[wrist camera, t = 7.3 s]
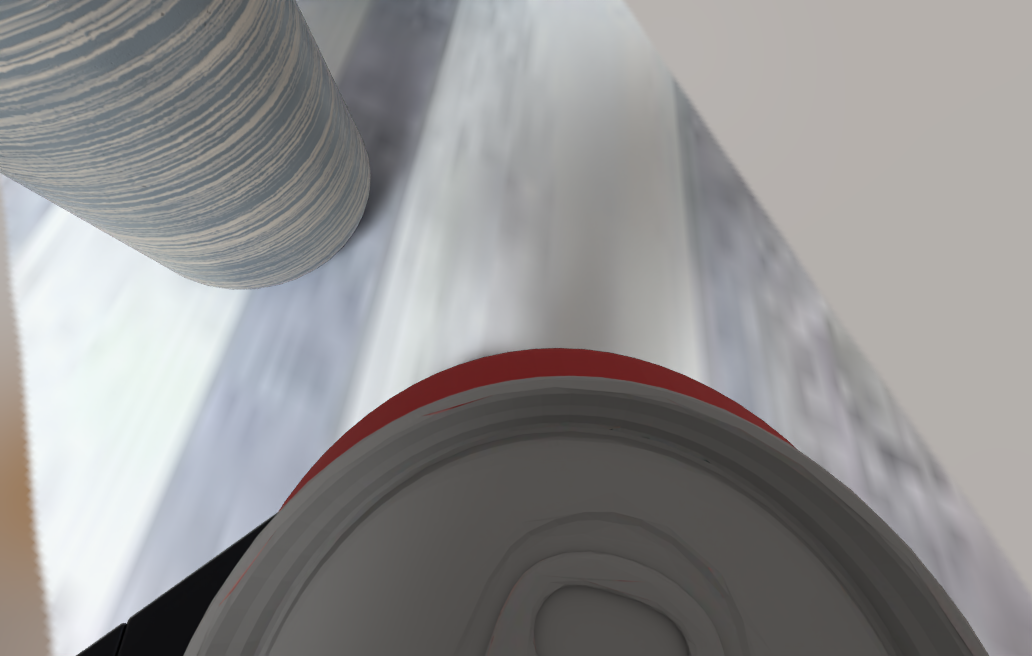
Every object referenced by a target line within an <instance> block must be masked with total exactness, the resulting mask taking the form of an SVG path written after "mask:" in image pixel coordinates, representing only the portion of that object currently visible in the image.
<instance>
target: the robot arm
mask: <svg viewBox="0 0 1032 656" xmlns="http://www.w3.org/2000/svg"><path fill="white" fill-rule="evenodd" d="M276 515H277V513H276V514H275V515H273V516H272V517H271V518H269V519H268V520H266V521H265V522H263V523H262V524H261V525H259V526H258V527H256V528H255V529H254V530H252V531H251V532H249V533H248V534H247V535H245V536H244V537H242V538H241V539H240V540H238V541H237V542H235V543H234V544H233V545H231V546H230V547H228V548H227V549H226V550H224V551H223V552H221V553H220V554H219V555H217V556H216V557H214V558H213V559H212V560H210V561H209V562H207V563H206V564H205V565H203V566H202V567H200V568H199V569H198V570H196V571H195V572H193V573H192V574H191V575H189V576H188V577H186V578H185V579H184V580H182V581H181V582H179V583H178V584H177V585H175V586H174V587H172V588H171V589H170V590H168V591H167V592H165V593H164V594H162V595H161V596H160V597H158V598H157V599H155V600H154V601H153V602H151V603H150V604H148V605H147V606H146V607H144V608H143V609H141V610H140V611H139V612H137V613H136V614H134V615H133V616H132V617H130V618H129V620H128V622H127V624H126V623H122V624H120V625H119V626H117V627H116V628H114V629H113V630H112V631H110V632H109V633H107V634H106V635H105V636H103V637H102V638H100V639H99V640H98V641H96V642H95V643H93V644H92V645H91V646H89V647H88V648H86V649H85V650H83V651H82V652H81V653H79V654H78V655H76V656H183V655H184V653H185V651H186V649H187V647H188V645H189V643H190V641H191V639H192V637H193V635H194V633H195V631H196V629H197V628H198V626H199V624H200V622H201V620H202V618H203V617H204V615H205V613H206V611H207V609H208V607H209V605H210V604H211V602H212V600H213V599H214V597H215V596H216V594H217V593H218V591H219V590H220V588H221V587H222V585H223V584H224V582H225V581H226V579H227V578H228V577H229V575H230V574H231V572H232V571H233V569H234V568H235V566H236V565H237V563H238V562H239V561H240V559H241V558H242V556H243V555H244V554H245V552H246V551H247V550H248V548H249V547H250V545H251V544H252V543H253V541H254V540H255V539H256V537H257V536H258V535H259V534H260V532H261V531H262V530H263V529H264V528H265V527H266V526H267V525H268V523H269V522H270V521H271V520H272V519H273V518H274V517H275V516H276Z"/></svg>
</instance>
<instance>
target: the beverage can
mask: <svg viewBox="0 0 1032 656" xmlns="http://www.w3.org/2000/svg"><path fill="white" fill-rule="evenodd" d="M183 656H989V655H988V653H987V652H986V650H985V648H984V647H983V645H982V644H981V642H980V640H979V639H978V637H977V636H976V634H975V633H974V631H973V629H972V628H971V626H970V625H969V623H968V621H967V620H966V619H965V617H964V616H963V615H962V613H961V612H960V611H959V609H958V608H957V606H956V605H955V604H954V602H953V601H952V600H951V598H950V597H949V596H948V594H947V593H946V592H945V590H944V589H943V588H942V586H941V585H940V584H939V583H938V581H937V580H936V579H935V578H934V576H933V575H932V574H931V573H930V572H929V570H928V569H927V568H926V567H925V565H924V564H923V563H922V562H921V561H920V559H919V558H918V557H917V556H916V554H915V553H914V552H913V551H912V549H911V548H910V547H909V546H908V545H907V544H906V543H905V542H904V541H903V540H902V539H901V538H900V537H899V536H898V535H897V534H896V533H895V532H894V531H893V530H892V529H891V528H890V527H889V526H888V525H887V524H886V523H885V522H884V521H883V520H882V519H881V518H880V517H879V516H878V515H877V514H876V513H875V512H874V511H873V510H872V509H871V508H870V507H869V506H868V505H866V504H865V503H864V502H863V501H862V500H861V499H860V498H859V497H858V496H857V495H856V494H855V493H854V492H853V491H852V490H851V489H849V488H848V487H847V486H845V485H844V484H843V483H842V482H840V481H839V480H838V479H836V478H835V477H834V476H833V475H831V474H830V473H829V472H827V471H826V470H825V469H823V468H822V467H821V466H820V465H818V464H817V463H815V462H814V461H813V460H811V459H810V458H808V457H807V456H806V455H804V454H803V453H801V452H800V451H798V450H797V449H796V448H795V447H794V446H793V445H792V444H791V443H790V442H789V441H788V440H787V439H785V438H784V437H783V436H782V435H780V434H779V433H778V432H777V431H775V430H774V429H773V428H772V427H770V426H769V425H768V424H767V423H765V422H764V421H763V420H761V419H760V418H759V417H757V416H756V415H754V414H753V413H751V412H750V411H748V410H747V409H745V408H744V407H743V406H741V405H740V404H738V403H736V402H735V401H733V400H731V399H730V398H728V397H726V396H724V395H723V394H721V393H719V392H717V391H716V390H714V389H712V388H710V387H708V386H706V385H704V384H702V383H700V382H698V381H696V380H694V379H691V378H689V377H687V376H685V375H683V374H680V373H678V372H675V371H672V370H670V369H667V368H665V367H662V366H660V365H656V364H653V363H650V362H646V361H643V360H640V359H636V358H632V357H628V356H623V355H618V354H614V353H609V352H601V351H593V350H586V349H567V348H548V349H530V350H521V351H513V352H507V353H502V354H497V355H492V356H487V357H483V358H480V359H476V360H473V361H470V362H466V363H463V364H460V365H457V366H454V367H452V368H449V369H447V370H444V371H442V372H439V373H437V374H434V375H432V376H430V377H428V378H426V379H424V380H422V381H420V382H418V383H416V384H414V385H412V386H410V387H409V388H407V389H405V390H404V391H402V392H400V393H399V394H397V395H395V396H394V397H392V398H390V399H389V400H387V401H386V402H385V403H383V404H382V405H380V406H379V407H378V408H376V409H375V410H373V411H372V412H370V413H369V414H368V415H367V416H365V417H364V418H363V419H362V420H361V421H359V422H358V423H357V424H356V425H355V426H353V427H352V428H351V429H350V430H349V431H347V432H346V433H345V434H344V435H343V436H342V437H341V438H340V439H339V440H338V441H337V442H336V443H335V444H334V445H333V446H332V447H330V448H329V449H328V450H327V451H326V452H325V453H324V454H323V455H322V457H321V458H320V459H319V460H318V461H317V462H316V463H315V465H314V466H313V467H312V468H311V469H310V470H309V471H308V473H307V474H306V475H305V476H304V477H303V478H302V480H301V481H300V482H299V484H298V485H297V486H296V488H295V489H294V490H293V492H292V493H291V494H290V496H289V497H288V498H287V500H286V501H285V502H284V504H283V505H282V507H281V509H280V510H279V512H278V513H277V515H276V516H275V517H274V518H273V519H272V520H271V521H270V522H269V523H268V525H267V526H266V527H265V528H264V529H263V530H262V531H261V532H260V534H259V535H258V536H257V537H256V539H255V540H254V541H253V543H252V544H251V545H250V547H249V548H248V550H247V551H246V552H245V554H244V555H243V556H242V558H241V559H240V561H239V562H238V563H237V565H236V566H235V568H234V569H233V571H232V572H231V574H230V575H229V577H228V578H227V579H226V581H225V582H224V584H223V585H222V587H221V588H220V590H219V591H218V593H217V594H216V596H215V597H214V599H213V600H212V602H211V604H210V605H209V607H208V609H207V611H206V613H205V615H204V617H203V618H202V620H201V622H200V624H199V626H198V628H197V629H196V631H195V633H194V635H193V637H192V639H191V641H190V643H189V645H188V647H187V649H186V651H185V653H184V655H183Z"/></svg>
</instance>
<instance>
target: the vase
mask: <svg viewBox="0 0 1032 656" xmlns="http://www.w3.org/2000/svg"><path fill="white" fill-rule="evenodd" d="M0 173H2V174H3V175H5V176H7V177H9V178H10V179H12V180H14V181H16V182H17V183H19V184H21V185H23V186H24V187H26V188H28V189H30V190H31V191H33V192H35V193H37V194H38V195H40V196H42V197H44V198H45V199H47V200H49V201H51V202H53V203H54V204H56V205H58V206H60V207H61V208H63V209H65V210H67V211H68V212H70V213H72V214H74V215H75V216H77V217H79V218H81V219H82V220H84V221H86V222H88V223H89V224H91V225H93V226H95V227H96V228H98V229H100V230H102V231H104V232H105V233H107V234H109V235H111V236H112V237H114V238H116V239H118V240H119V241H121V242H123V243H125V244H126V245H128V246H130V247H132V248H133V249H135V250H137V251H139V252H140V253H142V254H144V255H146V256H147V257H149V258H151V259H153V260H154V261H156V262H158V263H160V264H162V265H163V266H165V267H167V268H169V269H170V270H172V271H174V272H176V273H177V274H179V275H181V276H183V277H184V278H187V279H190V280H193V281H196V282H198V283H201V284H204V285H207V286H213V287H219V288H225V289H258V288H264V287H270V286H275V285H280V284H283V283H286V282H289V281H292V280H295V279H297V278H299V277H301V276H303V275H305V274H307V273H309V272H311V271H313V270H315V269H316V268H318V267H320V266H321V265H323V264H324V263H325V262H327V261H328V260H330V259H331V258H332V257H333V256H334V255H335V254H336V253H337V252H338V251H339V250H340V249H341V248H342V247H343V246H344V245H345V243H346V242H347V241H348V239H349V238H350V237H351V236H352V234H353V233H354V232H355V230H356V228H357V226H358V224H359V222H360V220H361V218H362V216H363V214H364V210H365V207H366V204H367V201H368V198H369V189H370V178H371V176H370V166H369V158H368V155H367V151H366V148H365V145H364V142H363V140H362V138H361V136H360V134H359V131H358V129H357V127H356V125H355V123H354V121H353V119H352V117H351V115H350V113H349V111H348V109H347V107H346V104H345V102H344V100H343V98H342V96H341V94H340V92H339V90H338V88H337V86H336V84H335V82H334V79H333V77H332V75H331V73H330V71H329V69H328V67H327V65H326V63H325V61H324V59H323V57H322V55H321V52H320V50H319V48H318V46H317V44H316V42H315V40H314V38H313V36H312V34H311V32H310V30H309V27H308V25H307V23H306V21H305V19H304V17H303V15H302V13H301V11H300V9H299V7H298V5H297V3H296V0H0Z"/></svg>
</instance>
